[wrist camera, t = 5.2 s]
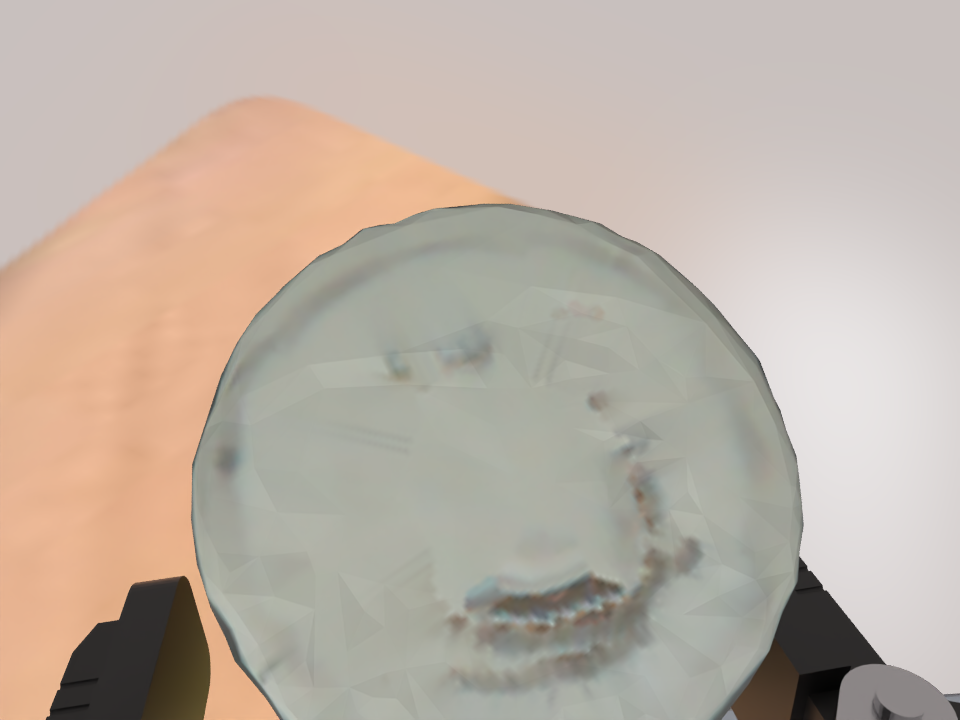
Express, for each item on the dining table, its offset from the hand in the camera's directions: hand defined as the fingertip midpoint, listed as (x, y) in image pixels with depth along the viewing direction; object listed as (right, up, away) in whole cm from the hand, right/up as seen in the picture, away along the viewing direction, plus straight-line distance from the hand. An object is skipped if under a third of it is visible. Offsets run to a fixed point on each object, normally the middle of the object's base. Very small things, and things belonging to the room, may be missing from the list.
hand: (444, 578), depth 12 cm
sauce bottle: (-1, -4, +11) cm, 12 cm away
